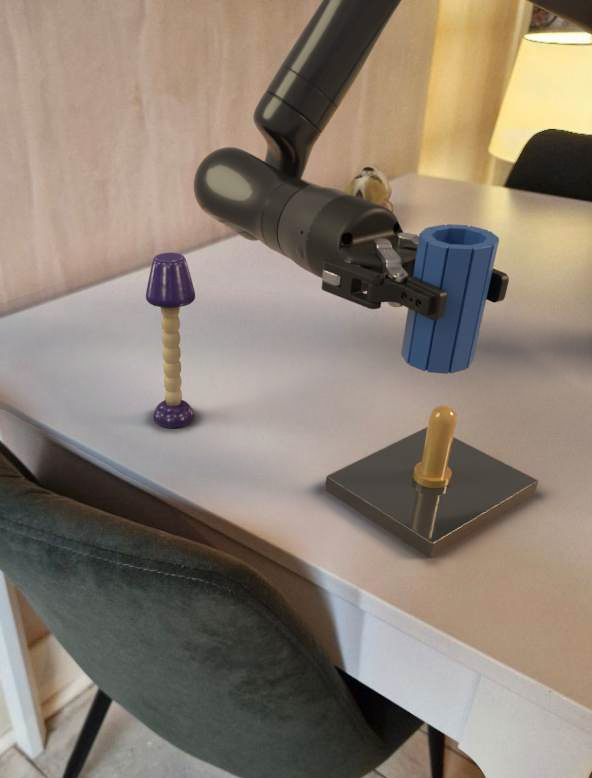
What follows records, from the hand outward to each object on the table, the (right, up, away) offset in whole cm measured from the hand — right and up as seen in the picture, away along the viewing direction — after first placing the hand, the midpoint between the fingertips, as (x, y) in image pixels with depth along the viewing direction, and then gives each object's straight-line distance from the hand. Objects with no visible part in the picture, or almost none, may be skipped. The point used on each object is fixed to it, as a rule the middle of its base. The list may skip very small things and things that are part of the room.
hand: (473, 297), depth 58 cm
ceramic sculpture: (+7, +34, +75) cm, 82 cm away
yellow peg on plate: (0, -15, +10) cm, 18 cm away
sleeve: (-1, -3, +5) cm, 6 cm away
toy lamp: (-24, -7, +22) cm, 33 cm away
